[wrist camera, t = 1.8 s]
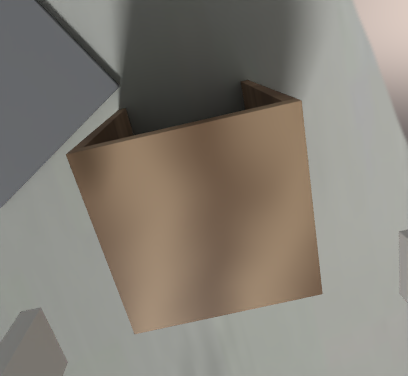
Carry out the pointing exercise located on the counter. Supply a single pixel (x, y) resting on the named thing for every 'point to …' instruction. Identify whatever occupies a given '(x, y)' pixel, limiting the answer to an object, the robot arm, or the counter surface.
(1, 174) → the mat
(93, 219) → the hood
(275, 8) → the counter surface
